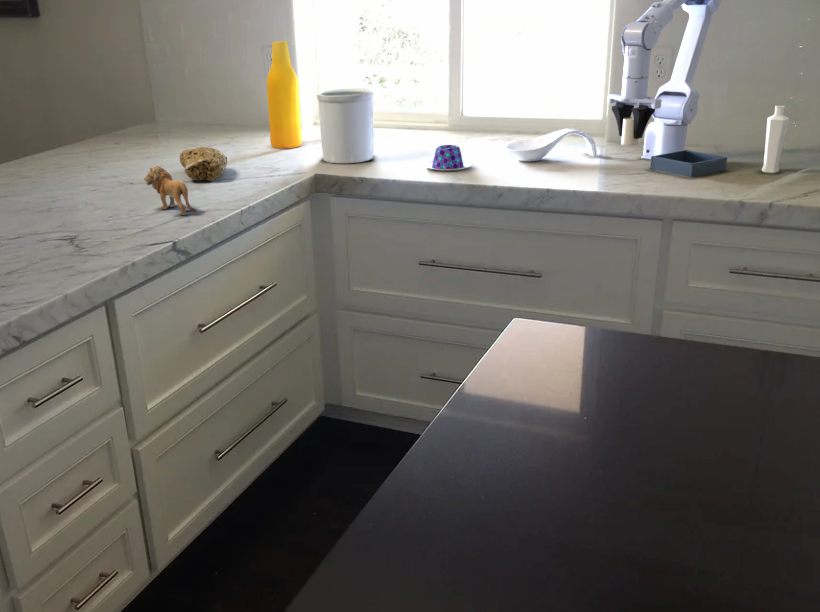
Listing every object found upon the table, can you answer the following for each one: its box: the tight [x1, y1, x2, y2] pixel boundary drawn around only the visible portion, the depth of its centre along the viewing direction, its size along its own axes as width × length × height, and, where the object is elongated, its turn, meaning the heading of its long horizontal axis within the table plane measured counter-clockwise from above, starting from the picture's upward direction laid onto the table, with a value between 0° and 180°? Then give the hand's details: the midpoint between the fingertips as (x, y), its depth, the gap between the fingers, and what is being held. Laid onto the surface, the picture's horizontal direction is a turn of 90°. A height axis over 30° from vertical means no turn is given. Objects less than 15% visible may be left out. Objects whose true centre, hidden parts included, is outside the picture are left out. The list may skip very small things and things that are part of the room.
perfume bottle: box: [761, 105, 790, 174], centre depth 199 cm, size 5×4×15 cm
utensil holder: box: [316, 88, 375, 164], centre depth 230 cm, size 15×15×18 cm
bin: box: [649, 149, 728, 178], centre depth 205 cm, size 12×12×3 cm
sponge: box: [179, 146, 228, 182], centre depth 220 cm, size 13×8×20 cm
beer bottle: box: [266, 40, 303, 150], centre depth 249 cm, size 9×9×29 cm
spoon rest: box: [504, 127, 598, 163], centre depth 224 cm, size 24×12×7 cm, turn 98°
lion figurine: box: [143, 165, 198, 216], centre depth 186 cm, size 15×5×9 cm, turn 50°
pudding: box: [423, 144, 473, 172], centre depth 218 cm, size 12×12×5 cm
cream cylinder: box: [620, 116, 640, 147], centre depth 205 cm, size 4×4×6 cm
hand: (630, 136), depth 206 cm, fingers closed on cream cylinder, 4 cm apart
